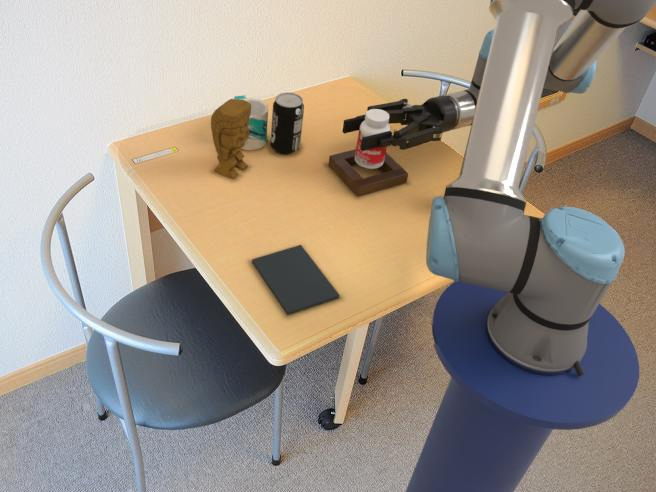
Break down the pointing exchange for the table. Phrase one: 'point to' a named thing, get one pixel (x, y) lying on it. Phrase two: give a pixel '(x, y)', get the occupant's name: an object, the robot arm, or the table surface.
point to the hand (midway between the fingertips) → (353, 135)
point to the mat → (295, 279)
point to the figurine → (231, 135)
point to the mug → (256, 123)
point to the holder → (367, 185)
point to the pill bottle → (370, 126)
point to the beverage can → (287, 123)
